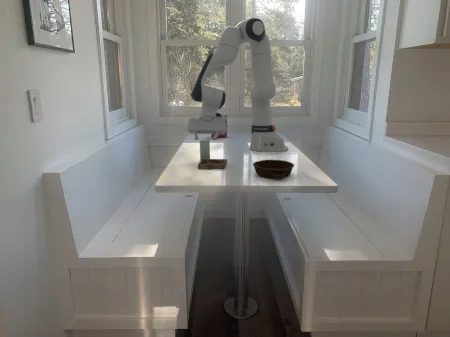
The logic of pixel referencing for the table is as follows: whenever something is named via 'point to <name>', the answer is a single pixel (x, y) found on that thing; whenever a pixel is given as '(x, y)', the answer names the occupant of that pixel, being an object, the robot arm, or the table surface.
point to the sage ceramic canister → (204, 149)
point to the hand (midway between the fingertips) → (205, 139)
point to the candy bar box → (226, 128)
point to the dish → (273, 168)
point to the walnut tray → (212, 164)
